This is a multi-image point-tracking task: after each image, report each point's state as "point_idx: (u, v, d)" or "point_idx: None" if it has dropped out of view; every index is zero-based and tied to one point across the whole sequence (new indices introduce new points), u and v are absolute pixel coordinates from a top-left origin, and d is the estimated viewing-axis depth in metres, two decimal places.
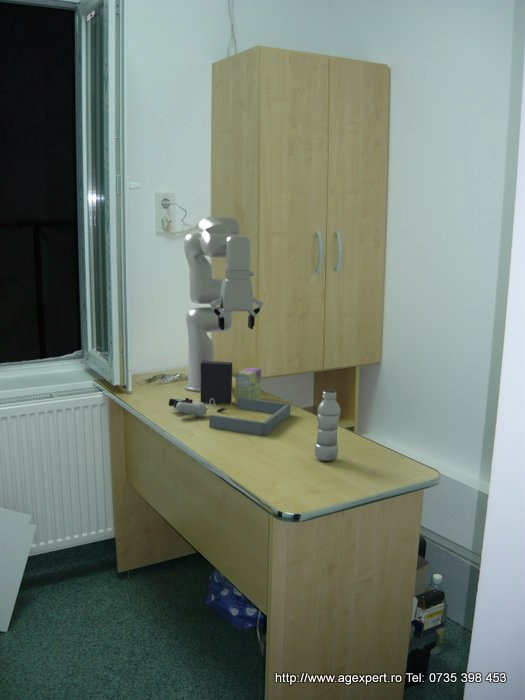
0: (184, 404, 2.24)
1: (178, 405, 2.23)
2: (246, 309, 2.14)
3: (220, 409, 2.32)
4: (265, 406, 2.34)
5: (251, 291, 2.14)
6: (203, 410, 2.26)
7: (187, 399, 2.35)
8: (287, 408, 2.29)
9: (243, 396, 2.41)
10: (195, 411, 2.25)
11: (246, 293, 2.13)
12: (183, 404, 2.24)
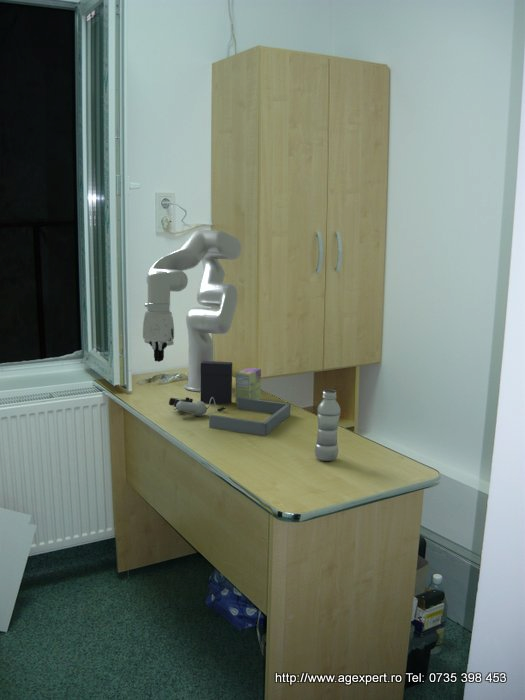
0: (184, 403, 2.25)
1: (178, 404, 2.24)
2: None
3: (220, 408, 2.33)
4: (265, 406, 2.34)
5: None
6: (203, 409, 2.26)
7: (187, 398, 2.36)
8: (287, 408, 2.29)
9: (243, 396, 2.41)
10: (195, 410, 2.26)
11: None
12: (183, 403, 2.25)
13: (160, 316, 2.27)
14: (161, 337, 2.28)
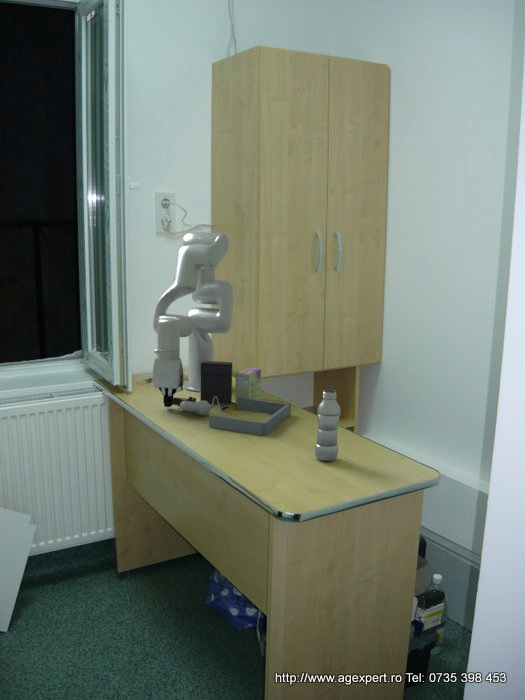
0: (188, 403, 2.25)
1: (182, 404, 2.25)
2: None
3: (224, 407, 2.34)
4: (265, 406, 2.34)
5: None
6: (207, 408, 2.27)
7: (191, 398, 2.36)
8: (287, 408, 2.29)
9: (243, 396, 2.41)
10: (199, 409, 2.26)
11: None
12: (187, 403, 2.25)
13: (170, 363, 2.28)
14: (171, 384, 2.29)
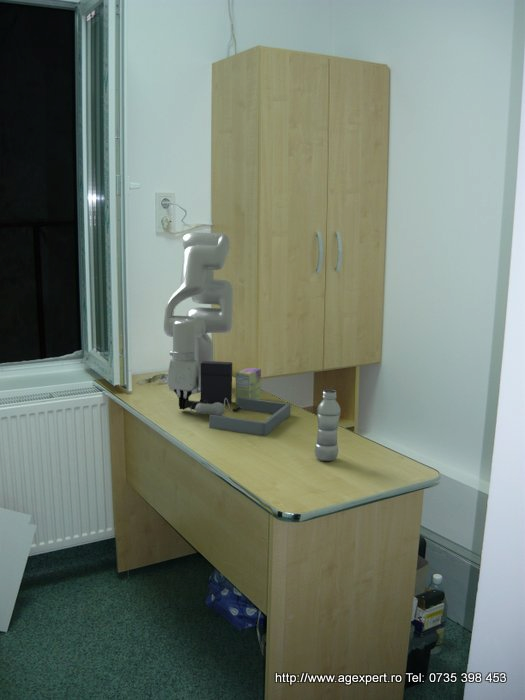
0: (204, 405, 2.23)
1: (198, 406, 2.23)
2: None
3: (236, 409, 2.33)
4: (265, 406, 2.34)
5: None
6: (222, 410, 2.26)
7: (201, 400, 2.34)
8: (287, 408, 2.29)
9: (243, 396, 2.41)
10: (214, 411, 2.25)
11: None
12: (203, 405, 2.23)
13: (186, 365, 2.26)
14: (186, 386, 2.28)
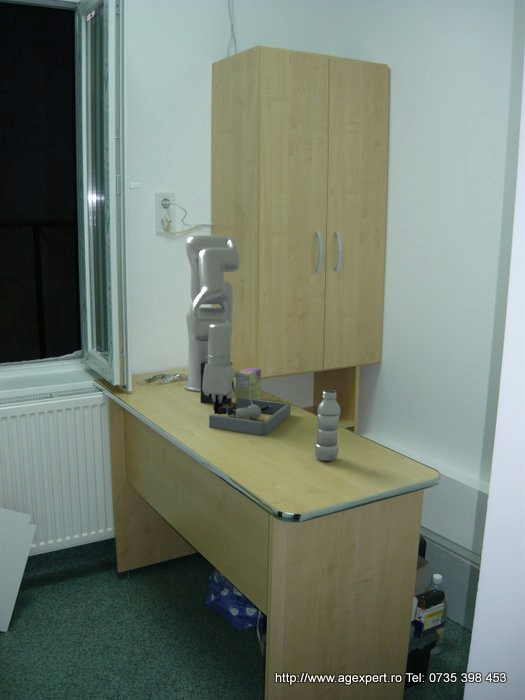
0: (245, 409, 2.20)
1: (241, 411, 2.19)
2: None
3: (264, 408, 2.33)
4: (265, 406, 2.34)
5: None
6: (260, 412, 2.24)
7: (230, 404, 2.29)
8: (287, 408, 2.29)
9: (243, 396, 2.41)
10: (254, 414, 2.23)
11: None
12: (245, 410, 2.20)
13: (222, 369, 2.22)
14: (222, 390, 2.23)
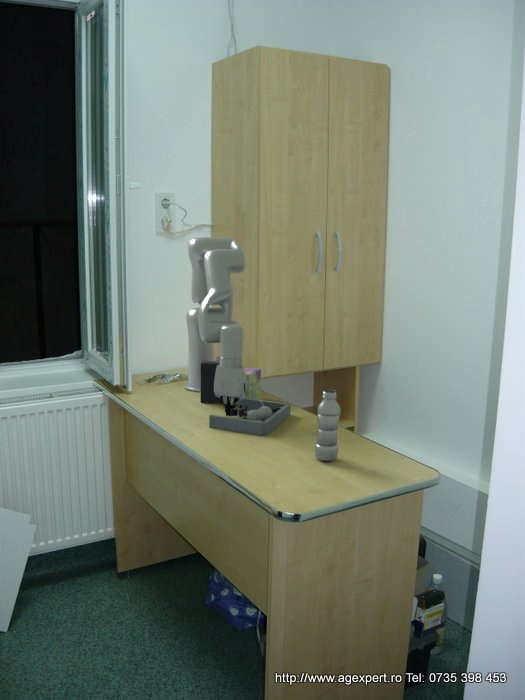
0: (257, 411, 2.18)
1: (252, 414, 2.17)
2: None
3: (275, 409, 2.31)
4: None
5: None
6: (271, 413, 2.23)
7: (241, 406, 2.28)
8: (287, 408, 2.29)
9: None
10: (265, 416, 2.21)
11: None
12: (256, 411, 2.18)
13: (233, 371, 2.21)
14: (234, 392, 2.22)
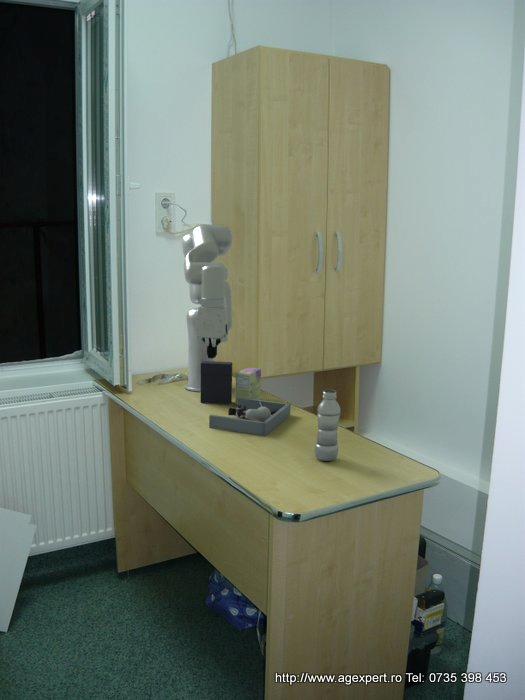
0: (255, 411, 2.19)
1: (250, 412, 2.18)
2: None
3: (274, 411, 2.32)
4: (265, 406, 2.34)
5: None
6: (270, 414, 2.23)
7: (240, 406, 2.28)
8: (287, 408, 2.29)
9: (243, 396, 2.41)
10: (263, 416, 2.22)
11: None
12: (254, 411, 2.19)
13: (215, 311, 2.19)
14: (215, 333, 2.20)
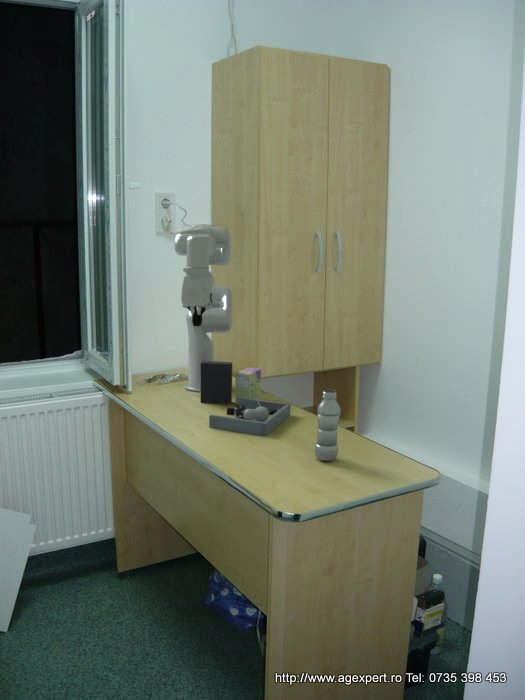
0: (253, 410, 2.19)
1: (249, 412, 2.18)
2: None
3: (272, 411, 2.32)
4: (265, 406, 2.34)
5: None
6: (268, 414, 2.23)
7: (238, 406, 2.28)
8: (287, 408, 2.29)
9: (243, 396, 2.41)
10: (262, 416, 2.22)
11: None
12: (253, 411, 2.19)
13: (200, 280, 2.27)
14: (200, 301, 2.28)
